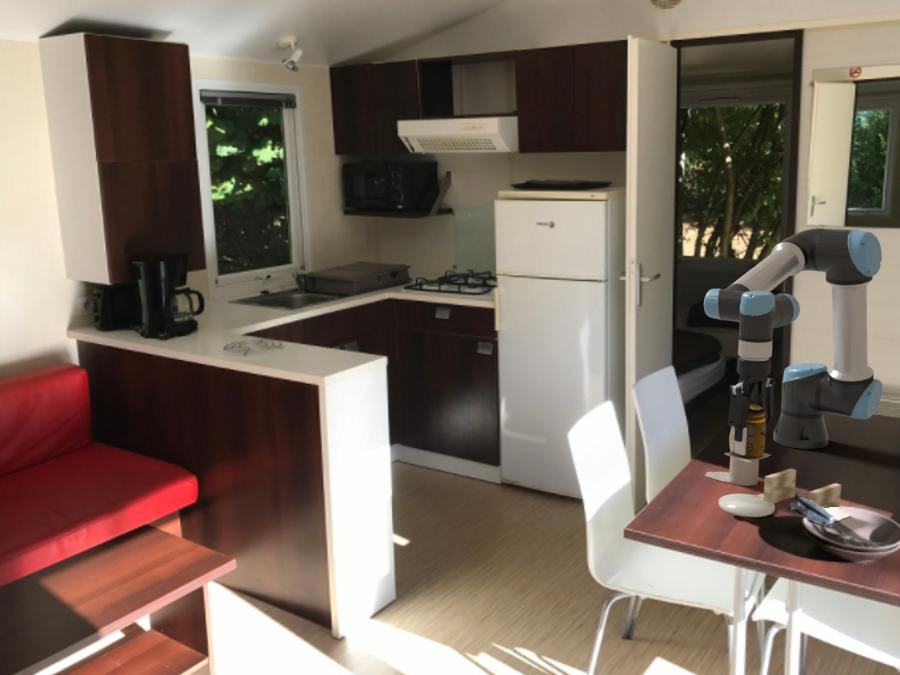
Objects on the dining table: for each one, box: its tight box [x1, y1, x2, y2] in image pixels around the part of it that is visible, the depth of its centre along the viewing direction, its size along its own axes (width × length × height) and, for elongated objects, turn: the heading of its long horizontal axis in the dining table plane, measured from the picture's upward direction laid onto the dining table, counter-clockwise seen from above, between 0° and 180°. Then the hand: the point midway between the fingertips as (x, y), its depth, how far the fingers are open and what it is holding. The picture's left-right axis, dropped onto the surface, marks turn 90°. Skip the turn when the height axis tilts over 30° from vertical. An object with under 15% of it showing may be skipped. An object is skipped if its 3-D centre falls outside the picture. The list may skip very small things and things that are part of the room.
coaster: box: [718, 493, 776, 518], centre depth 223 cm, size 13×13×1 cm
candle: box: [704, 426, 760, 487], centre depth 239 cm, size 7×14×20 cm, turn 55°
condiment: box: [724, 403, 772, 463], centre depth 218 cm, size 7×8×12 cm
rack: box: [754, 468, 842, 508], centre depth 221 cm, size 10×20×7 cm, turn 33°
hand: (749, 450), depth 220 cm, fingers closed on condiment, 6 cm apart
